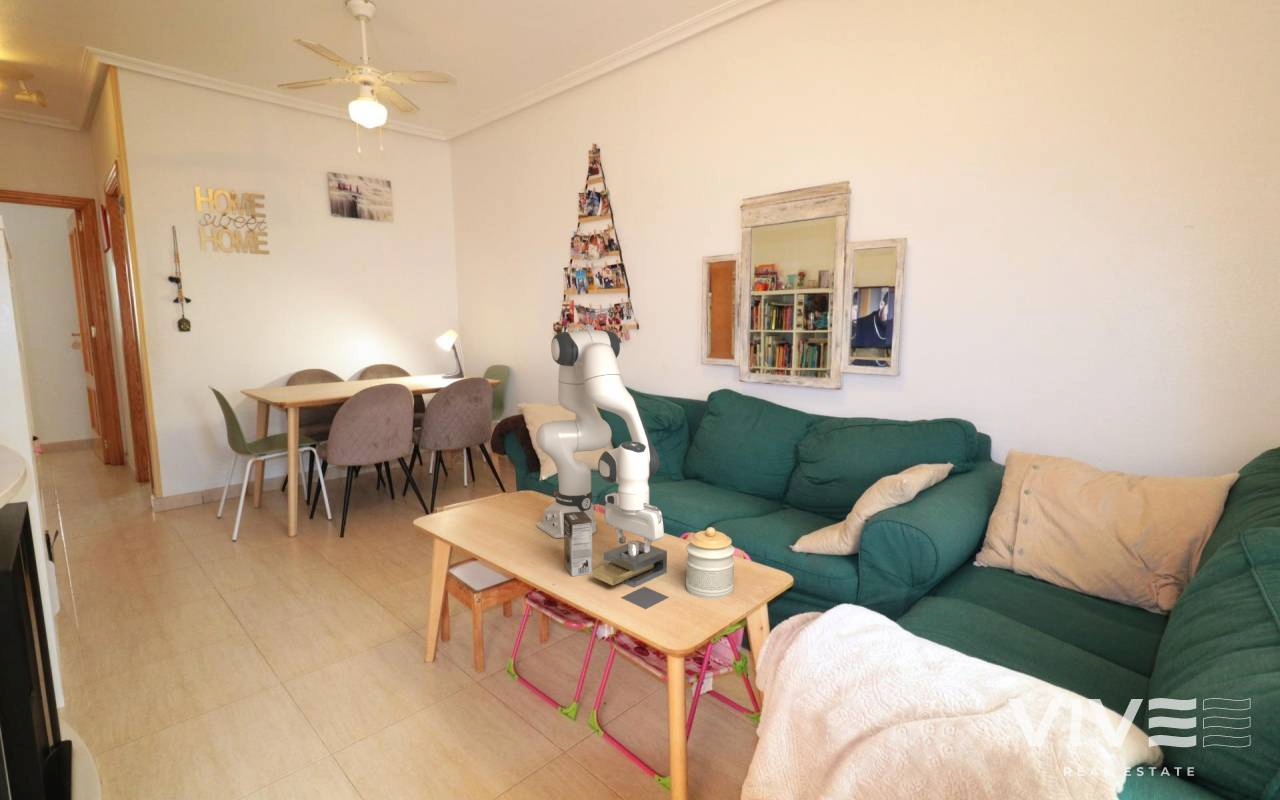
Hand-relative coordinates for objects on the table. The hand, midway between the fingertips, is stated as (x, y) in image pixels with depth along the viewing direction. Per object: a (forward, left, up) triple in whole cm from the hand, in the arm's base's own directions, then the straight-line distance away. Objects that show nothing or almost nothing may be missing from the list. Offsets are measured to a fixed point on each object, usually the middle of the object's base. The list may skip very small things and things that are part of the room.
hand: (633, 547), depth 167 cm
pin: (0, 0, -9) cm, 9 cm away
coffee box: (-15, -8, -9) cm, 19 cm away
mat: (+12, -8, -9) cm, 17 cm away
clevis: (0, -2, -9) cm, 9 cm away
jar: (+21, +8, -9) cm, 24 cm away
